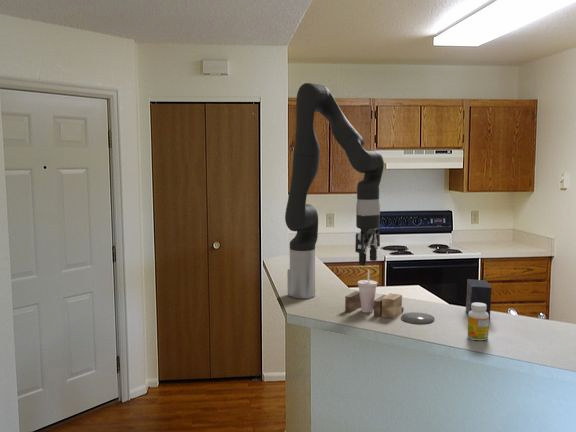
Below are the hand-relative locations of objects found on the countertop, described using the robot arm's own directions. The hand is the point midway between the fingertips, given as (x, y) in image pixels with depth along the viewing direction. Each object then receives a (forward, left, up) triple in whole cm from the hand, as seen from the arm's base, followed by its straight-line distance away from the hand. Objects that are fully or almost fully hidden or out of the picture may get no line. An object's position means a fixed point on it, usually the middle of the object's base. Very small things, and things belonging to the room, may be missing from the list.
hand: (368, 262), depth 175 cm
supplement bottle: (+37, -9, -16) cm, 41 cm away
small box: (+32, +14, -16) cm, 38 cm away
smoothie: (0, 0, -16) cm, 16 cm away
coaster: (+17, 0, -16) cm, 23 cm away
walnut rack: (+2, 0, -16) cm, 16 cm away
